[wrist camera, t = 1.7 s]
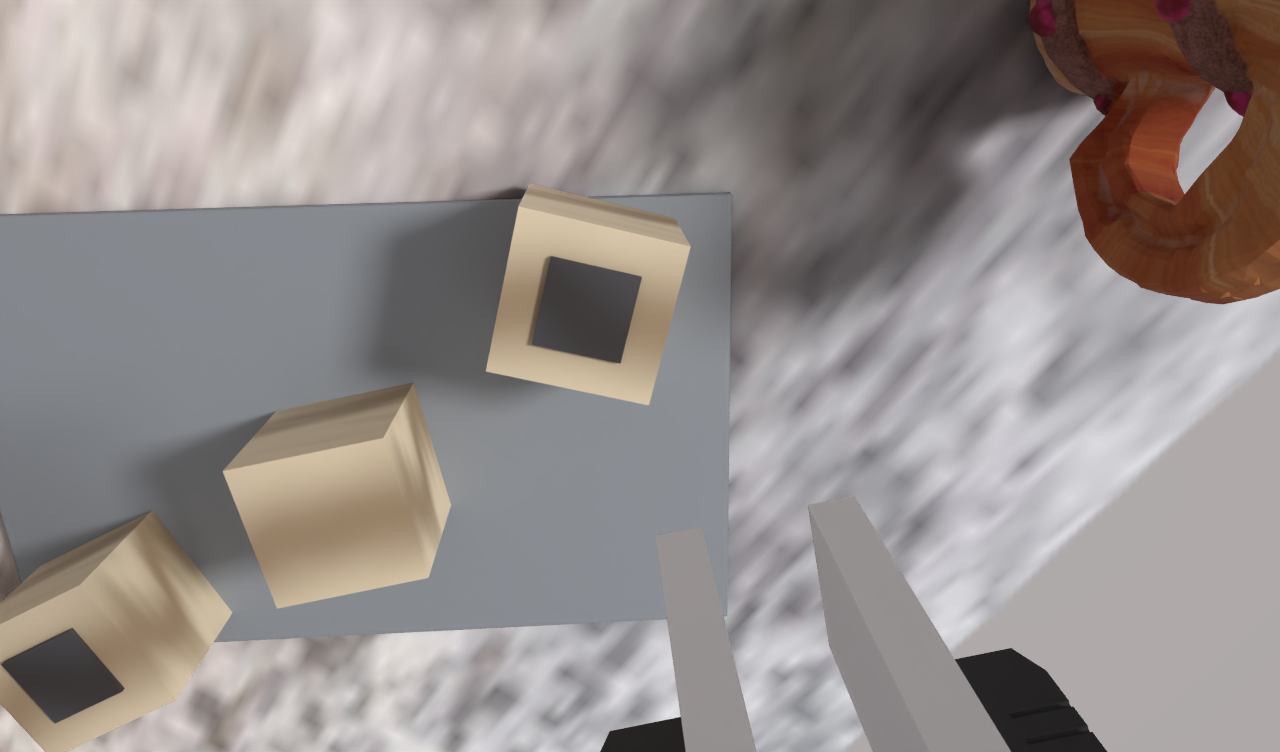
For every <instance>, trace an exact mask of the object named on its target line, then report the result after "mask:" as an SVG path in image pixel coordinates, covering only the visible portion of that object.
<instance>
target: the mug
mask: <svg viewBox="0 0 1280 752" xmlns="http://www.w3.org/2000/svg"><path fill="white" fill-rule="evenodd" d="M1027 22H1028V25H1029V27H1030V29H1031V31H1032V32H1033V34H1034V38H1035V42H1036V45H1037V48H1038V50H1039V51H1040V53H1041V55H1042V56H1043V58H1044V61H1045V64H1046V66H1047V68H1048V69H1049V71H1050V72H1051V74H1052V76H1053V77H1054V79H1055V80H1056V82H1057V83H1058V84H1059V85H1061V86H1063V87H1064V88H1066V89H1068V90H1069V91H1071V92H1073V93H1077V94H1081V95H1086V96H1089V97H1091V98H1092V99H1094V101H1093V102H1094V104H1095V106H1096V108H1097V110H1099V111H1100V112H1101V113H1102V114H1103V115H1105V118H1104V119H1103V120H1102V121H1101V122H1100V124H1099V125H1098V126H1097V127H1096V128H1095V129H1094V130H1093V131H1092V132H1091V133H1090V134H1089V135H1088V136H1087V137H1086V138H1085V139H1084V141H1083V142H1082V143H1081V144H1080V145H1079V147H1078V148H1077V149H1076V151H1075V152H1074V153H1073V155H1072V156H1071V158H1070V165H1071V172H1072V178H1073V184H1074V189H1075V195H1076V200H1077V206H1078V210H1079V213H1080V216H1081V219H1082V221H1083V226H1084V231H1085V236H1086V238H1087V239H1088V241H1089V243H1090V244H1091V246H1092V247H1093V249H1094V250H1095V251H1096V252H1097V253H1098V255H1099V256H1100V257H1101V258H1102V259H1103V260H1104V261H1105V263H1106V264H1107V265H1108V266H1109V267H1111V268H1112V269H1113V270H1114V271H1116V272H1117V273H1118V274H1120V275H1121V276H1123V277H1125V278H1127V279H1129V280H1131V281H1133V282H1135V283H1137V284H1138V285H1139V286H1140V287H1141V288H1144V289H1148V290H1151V291H1155V292H1158V293H1163V294H1166V295H1172V296H1178V297H1184V298H1190V299H1191V300H1196V301H1201V302H1206V303H1215V304H1227V303H1232V302H1236V301H1241V300H1246V299H1251V298H1256V297H1259V296H1261V295H1264V294H1267V293H1269V292H1272V291H1275V290H1278V289H1280V0H1031V1H1030V10H1029V17H1028V21H1027ZM1215 87H1216V88H1218V89H1220V90H1221V91H1223V92H1224V94H1225V97H1226V100H1227V102H1228V104H1229V105H1230V107H1231V108H1232V109H1233V110H1234V111H1235V112H1237V113H1238V114H1239V115H1241V116H1243V117H1244V118H1243V120H1242V123H1241V126H1240V129H1239V130H1238V132H1237V133H1236V135H1235V136H1234V138H1233V139H1232V141H1231V142H1230V143H1229V145H1228V146H1227V147H1226V148H1225V149H1224V150H1223V151H1222V152H1221V153H1220V154H1219V155H1218V157H1217V158H1216V159H1215V160H1214V161H1213V162H1212V163H1211V164H1210V165H1209V166H1208V167H1207V168H1206V170H1205V171H1204V172H1203V173H1202V174H1201V175H1200V176H1199V178H1198V179H1197V180H1196V181H1195V182H1194V184H1193V185H1192V186H1191V187H1190V189H1189V190H1188V191H1187V192H1186V194H1184V192H1183V190H1182V188H1181V186H1180V184H1179V181H1178V177H1177V172H1176V169H1177V167H1178V161H1179V150H1180V144H1181V142H1182V139H1183V137H1184V136H1185V134H1186V133H1187V131H1188V130H1189V128H1190V127H1191V125H1192V124H1193V122H1194V120H1195V118H1196V116H1197V114H1198V113H1199V111H1200V110H1201V108H1202V107H1203V105H1204V104H1205V102H1206V101H1207V100H1208V98H1209V97H1210V95H1211V94H1212V92H1213V91H1214V89H1215Z"/></svg>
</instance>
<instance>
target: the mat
mask: <svg viewBox="0 0 1280 752" xmlns="http://www.w3.org/2000/svg"><path fill="white" fill-rule="evenodd" d="M589 198H593V199H597V200H601V201H606V202H610V203H614V204H618V205H622V206H627V207H631V208H635V209H639V210H643V211H648V212H652V213H656V214H660V215H665V216H669V217H673V218H675V219H676V221H677V223H678V224H679V226H680V228H681V230H682V232H683V233H684V235H685V237H686V239H687V241H688V242H689V244H690V246H691V248H690V251H689V255H688V259H687V263H686V267H685V270H684V274H683V278H682V282H681V286H680V289H679V293H678V297H677V301H676V305H675V308H674V312H673V316H672V320H671V324H670V327H669V331H668V335H667V339H666V343H665V346H664V350H663V354H662V358H661V362H660V365H659V369H658V373H657V377H656V380H655V384H654V388H653V392H652V396H651V399H650V403H649V405H644V404H640V403H635V402H630V401H625V400H620V399H616V398H611V397H606V396H601V395H596V394H592V393H587V392H582V391H577V390H572V389H568V388H563V387H558V386H553V385H549V384H544V383H539V382H534V381H529V380H525V379H520V378H515V377H510V376H505V375H501V374H496V373H491V372H486V367H487V362H488V357H489V352H490V347H491V342H492V337H493V332H494V327H495V322H496V317H497V312H498V307H499V302H500V297H501V292H502V287H503V282H504V277H505V272H506V267H507V262H508V257H509V252H510V246H511V241H512V236H513V231H514V226H515V221H516V216H517V211H518V206H519V204H520V202H521V200H522V199H496V200H462V201H429V202H396V203H363V204H330V205H297V206H264V207H231V208H198V209H165V210H132V211H99V212H66V213H33V214H0V511H1V515H2V518H3V522H4V525H5V529H6V532H7V535H8V539H9V542H10V546H11V549H12V553H13V556H14V559H15V563H16V566H17V570H18V573H19V577H20V580H21V583H22V582H23V581H25V580H26V579H27V578H28V577H29V576H30V575H31V574H32V573H33V572H34V571H35V570H37V569H38V568H39V567H40V566H42V565H44V564H46V563H48V562H50V561H52V560H54V559H56V558H58V557H60V556H62V555H64V554H66V553H68V552H70V551H72V550H74V549H76V548H78V547H80V546H82V545H84V544H86V543H88V542H90V541H92V540H94V539H96V538H98V537H100V536H102V535H104V534H106V533H108V532H110V531H112V530H114V529H116V528H118V527H120V526H122V525H124V524H126V523H128V522H130V521H132V520H134V519H136V518H138V517H140V516H142V515H144V514H146V513H148V512H150V511H152V510H153V511H154V512H155V514H156V515H157V516H158V518H159V519H160V520H161V521H162V523H163V524H164V525H165V527H166V528H167V529H168V530H169V532H170V533H171V534H172V536H173V537H174V538H175V539H176V541H177V542H178V543H179V545H180V546H181V547H182V548H183V550H184V551H185V552H186V554H187V555H188V556H189V557H190V559H191V560H192V561H193V562H194V564H195V565H196V566H197V568H198V569H199V570H200V571H201V573H202V574H203V575H204V577H205V578H206V579H207V580H208V582H209V583H210V584H211V586H212V587H213V588H214V589H215V591H216V592H217V593H218V595H219V596H220V597H221V598H222V600H223V601H224V602H225V604H226V605H227V606H228V607H229V609H230V610H231V611H232V614H231V616H230V618H229V619H228V621H227V622H226V624H225V625H224V627H223V628H222V630H221V631H220V633H219V634H218V636H217V638H216V639H215V641H214V642H228V641H248V640H267V639H287V638H307V637H326V636H346V635H366V634H385V633H405V632H424V631H444V630H464V629H483V628H503V627H523V626H542V625H562V624H582V623H601V622H621V621H641V620H660V619H667V614H666V607H665V600H664V593H663V586H662V579H661V572H660V565H659V558H658V550H657V543H656V536H660V535H664V534H669V533H674V532H679V531H684V530H689V529H694V528H699V527H702V530H703V534H704V538H705V542H706V546H707V550H708V554H709V558H710V563H711V567H712V571H713V575H714V579H715V583H716V587H717V591H718V595H719V600H720V604H721V608H722V612H723V616H727V579H728V493H729V407H730V321H731V235H732V194H731V193H730V192H727V193H694V194H661V195H628V196H595V197H589ZM413 382H414V385H415V388H416V392H417V395H418V398H419V401H420V405H421V408H422V411H423V415H424V418H425V421H426V424H427V428H428V431H429V434H430V438H431V441H432V444H433V447H434V451H435V454H436V457H437V461H438V464H439V467H440V470H441V474H442V477H443V480H444V484H445V487H446V490H447V493H448V497H449V500H450V503H451V507H450V511H449V514H448V517H447V520H446V523H445V527H444V530H443V533H442V536H441V539H440V543H439V546H438V549H437V552H436V555H435V559H434V562H433V565H432V568H431V572H430V575H429V578H426V579H421V580H416V581H411V582H406V583H401V584H396V585H391V586H386V587H381V588H377V589H372V590H367V591H362V592H357V593H352V594H347V595H342V596H337V597H332V598H327V599H323V600H318V601H313V602H308V603H303V604H298V605H293V606H288V607H283V608H278V609H277V607H276V605H275V602H274V600H273V597H272V595H271V592H270V590H269V587H268V585H267V582H266V580H265V577H264V575H263V572H262V570H261V567H260V564H259V562H258V559H257V557H256V554H255V552H254V549H253V547H252V544H251V542H250V539H249V537H248V534H247V532H246V529H245V527H244V524H243V522H242V519H241V517H240V514H239V512H238V509H237V506H236V504H235V501H234V499H233V496H232V494H231V491H230V489H229V486H228V484H227V481H226V479H225V476H224V474H223V470H224V469H225V468H226V467H227V466H228V465H229V463H230V462H231V461H232V460H233V459H234V458H235V457H236V456H237V454H238V453H239V452H240V451H241V450H242V449H243V448H244V447H245V446H246V444H247V443H248V442H249V441H250V440H251V439H252V438H253V437H254V436H255V434H256V433H257V432H258V431H259V430H260V429H261V428H262V427H263V425H264V424H265V423H266V422H267V421H268V420H269V419H270V418H271V417H272V415H273V414H274V413H275V412H276V411H278V410H283V409H287V408H292V407H297V406H302V405H307V404H312V403H316V402H321V401H326V400H331V399H336V398H341V397H345V396H350V395H355V394H360V393H365V392H370V391H374V390H379V389H384V388H389V387H394V386H399V385H403V384H408V383H413Z"/></svg>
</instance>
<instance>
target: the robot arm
mask: <svg viewBox="0 0 1280 752" xmlns="http://www.w3.org/2000/svg"><path fill="white" fill-rule="evenodd" d="M808 510H809V517H810V523H811V530H812V536H813V543H814V549H815V556H816V563H817V569H818V576H819V582H820V589H821V596H822V602H823V609H824V615H825V622H826V628H827V635H828V642H829V646H830V649H831V651H832V654H833V656H834V659H835V661H836V663H837V666H838V668H839V671H840V673H841V676H842V678H843V680H844V683H845V685H846V688H847V690H848V693H849V695H850V697H851V700H852V702H853V705H854V707H855V709H856V712H857V714H858V717H859V719H860V722H861V724H862V726H863V729H864V731H865V734H866V736H867V739H868V741H869V743H870V746H871V748H872V751H873V752H1107V751H1106V750H1105V748H1104V747H1103V746H1102V744H1101V743H1100V742H1099V740H1098V739H1097V738H1096V736H1095V735H1094V734H1093V732H1089V730H1088V726H1087V724H1086V723H1085V722H1084V720H1083V719H1082V718H1081V716H1080V715H1079V714H1078V712H1077V711H1076V710H1075V708H1074V707H1071V706H1070V704H1069V700H1068V699H1067V698H1066V696H1065V695H1064V694H1063V692H1062V691H1061V690H1060V688H1059V687H1058V686H1057V685H1056V683H1055V682H1054V680H1053V679H1052V678H1051V676H1050V675H1049V674H1048V672H1047V671H1046V670H1044V669H1043V668H1041V667H1040V666H1038V665H1036V664H1035V663H1033V662H1032V661H1030V660H1029V659H1027V658H1026V657H1024V656H1022V655H1021V654H1019V653H1018V652H1016V651H1015V650H1013V649H1012V648H1010V649H1005V650H1000V651H995V652H990V653H985V654H980V655H975V656H970V657H965V658H960V659H954V658H953V656H952V654H951V653H950V651H949V650H948V648H947V646H946V645H945V643H944V641H943V640H942V638H941V636H940V635H939V633H938V632H937V630H936V628H935V627H934V625H933V623H932V622H931V620H930V619H929V617H928V615H927V614H926V612H925V610H924V609H923V607H922V605H921V604H920V602H919V601H918V599H917V597H916V596H915V594H914V592H913V591H912V589H911V587H910V586H909V584H908V583H907V581H906V579H905V578H904V576H903V574H902V573H901V571H900V570H899V568H898V566H897V565H896V563H895V561H894V560H893V558H892V556H891V555H890V553H889V552H888V550H887V548H886V547H885V545H884V543H883V542H882V540H881V539H880V537H879V535H878V534H877V532H876V530H875V529H874V527H873V525H872V524H871V522H870V521H869V519H868V517H867V516H866V514H865V512H864V511H863V509H862V507H861V506H860V504H859V503H858V501H857V499H856V498H855V496H851V497H846V498H841V499H836V500H831V501H826V502H822V503H817V504H812V505H808ZM656 543H657V550H658V558H659V565H660V572H661V579H662V586H663V593H664V600H665V607H666V614H667V622H668V629H669V636H670V643H671V650H672V657H673V664H674V671H675V679H676V686H677V693H678V700H679V707H680V714H681V717H679V718H674V719H669V720H664V721H659V722H654V723H649V724H644V725H639V726H634V727H629V728H624V729H619V730H614V731H610V732H609V734H608V736H607V739H606V741H605V743H604V745H603V747H602V749H601V751H600V752H756V748H755V744H754V739H753V735H752V731H751V727H750V723H749V719H748V715H747V711H746V707H745V702H744V698H743V694H742V690H741V686H740V682H739V678H738V674H737V670H736V665H735V661H734V657H733V653H732V649H731V645H730V641H729V637H728V632H727V628H726V624H725V620H724V616H723V612H722V608H721V604H720V600H719V595H718V591H717V587H716V583H715V579H714V575H713V571H712V567H711V563H710V558H709V554H708V550H707V546H706V542H705V538H704V534H703V530H702V527H699V528H694V529H689V530H684V531H679V532H674V533H669V534H664V535H660V536H656Z"/></svg>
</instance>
